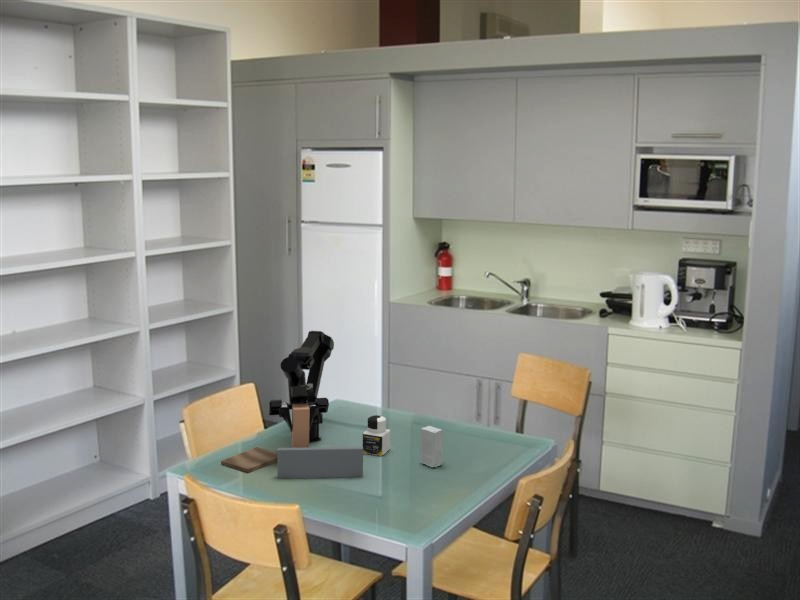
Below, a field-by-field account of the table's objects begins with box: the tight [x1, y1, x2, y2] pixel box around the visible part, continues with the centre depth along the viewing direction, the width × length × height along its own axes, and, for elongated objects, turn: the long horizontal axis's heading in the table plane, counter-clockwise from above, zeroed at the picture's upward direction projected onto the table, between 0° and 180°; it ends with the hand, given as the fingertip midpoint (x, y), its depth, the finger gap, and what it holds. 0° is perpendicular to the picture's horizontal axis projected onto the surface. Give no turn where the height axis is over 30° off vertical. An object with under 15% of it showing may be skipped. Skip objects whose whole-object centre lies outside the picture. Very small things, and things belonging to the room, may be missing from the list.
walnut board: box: [220, 447, 277, 474], centre depth 271 cm, size 16×12×1 cm
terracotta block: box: [291, 404, 310, 448], centre depth 266 cm, size 5×5×14 cm
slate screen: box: [276, 446, 364, 479], centre depth 261 cm, size 6×26×9 cm, turn 95°
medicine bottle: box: [362, 414, 391, 457], centre depth 281 cm, size 7×7×12 cm
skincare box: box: [419, 425, 444, 466], centre depth 270 cm, size 6×4×12 cm
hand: (300, 430), depth 264 cm, fingers closed on terracotta block, 5 cm apart
